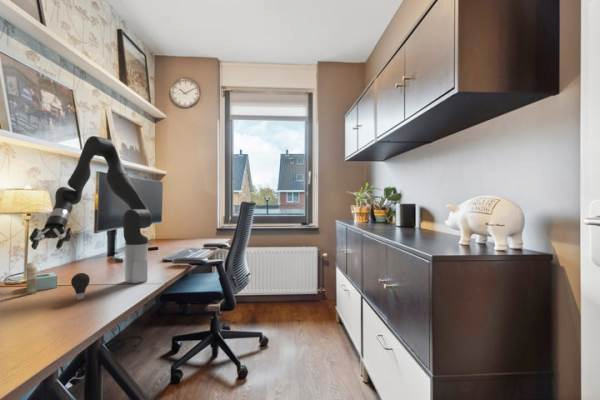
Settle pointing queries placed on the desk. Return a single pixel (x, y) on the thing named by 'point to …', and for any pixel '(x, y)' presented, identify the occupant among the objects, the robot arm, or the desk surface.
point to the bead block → (46, 281)
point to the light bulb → (80, 284)
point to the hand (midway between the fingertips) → (45, 248)
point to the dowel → (31, 278)
